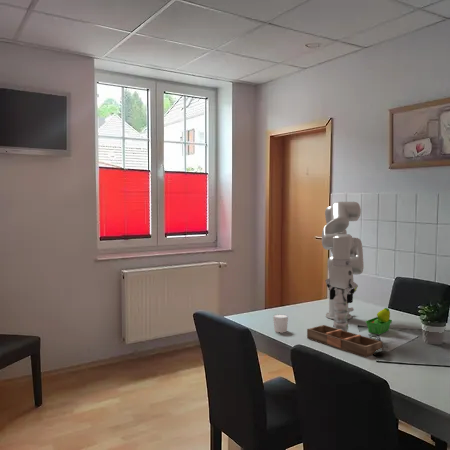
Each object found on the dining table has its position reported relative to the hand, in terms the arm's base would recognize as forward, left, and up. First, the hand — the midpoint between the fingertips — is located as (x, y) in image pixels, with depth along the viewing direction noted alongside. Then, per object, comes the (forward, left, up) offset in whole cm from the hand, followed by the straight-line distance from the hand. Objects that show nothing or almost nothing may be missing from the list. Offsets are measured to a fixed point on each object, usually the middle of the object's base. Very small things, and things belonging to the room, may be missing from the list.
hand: (341, 300), depth 206 cm
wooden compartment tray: (+13, +12, -14) cm, 23 cm away
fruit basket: (-15, +10, -15) cm, 23 cm away
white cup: (+20, -18, -15) cm, 31 cm away
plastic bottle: (0, 0, -15) cm, 15 cm away
